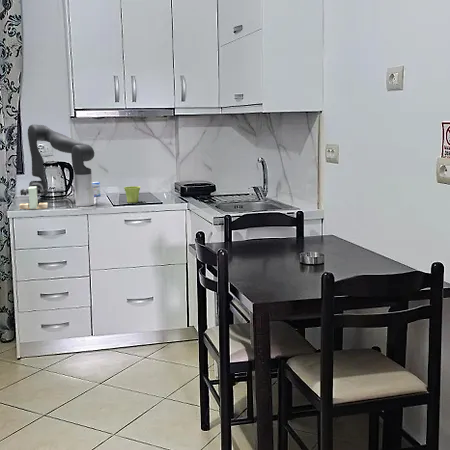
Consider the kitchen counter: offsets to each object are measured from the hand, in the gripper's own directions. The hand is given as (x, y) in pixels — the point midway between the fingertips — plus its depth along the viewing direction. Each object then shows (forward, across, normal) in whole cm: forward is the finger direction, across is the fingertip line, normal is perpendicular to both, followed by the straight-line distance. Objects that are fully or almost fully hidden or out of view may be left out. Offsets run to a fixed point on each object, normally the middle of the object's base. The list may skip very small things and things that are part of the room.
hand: (33, 193), depth 360 cm
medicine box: (-41, +31, +8) cm, 52 cm away
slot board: (+1, 0, +8) cm, 8 cm away
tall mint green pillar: (+1, 0, +8) cm, 8 cm away
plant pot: (-7, +53, +8) cm, 54 cm away
